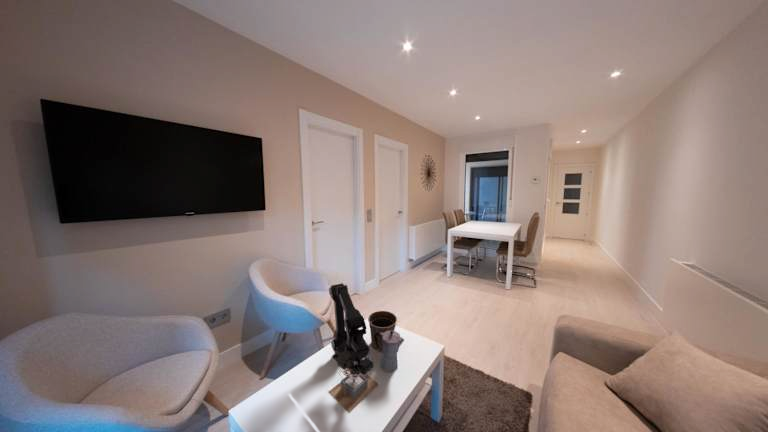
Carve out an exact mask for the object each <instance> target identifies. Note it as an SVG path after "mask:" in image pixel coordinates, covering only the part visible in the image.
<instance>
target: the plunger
mask: <svg viewBox="0 0 768 432" xmlns="http://www.w3.org/2000/svg"><path fill="white" fill-rule="evenodd" d="M355 365H356V364H354V365H353V366H355ZM353 366H351V368H350V370H349V371H350V372H349V373H348V375H349V378H348V379H347V380H346V381H345V383H346V384H347V385H348V386H349V387H351V388H352V389H353V390H354V389H356V388H357V387H358V386H359V385H360V384H361V383H362V382H363V381H364V380H363V379H361V378H360V377H359V375H358V376H357V377H356V374H355V369H354V368H353Z"/></svg>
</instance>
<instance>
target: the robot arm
mask: <svg viewBox="0 0 768 432" xmlns="http://www.w3.org/2000/svg"><path fill="white" fill-rule="evenodd" d="M328 292H329V293H328V294H329V296H330V298H331V300H332V301H333V304H334V305H333V307H334V317H335V318H334V319H335V331H334V333H333V340H331V341H330V345H331V348H332V350H333V352H334V353H333V355H331V357H332V359H334V360H335V361H336V363H337V365H338V366H339V368H341V369H342V370H346V369H348V370H349V371H350V368H351V366H353V365H355V366H353V368H354V369H355V374H356V377H357V376H358V375H359V373H361V374H363V375H365V374H368V373H369V372H370V371H371V370H372V369H373V368H374V363H375V362H374V361H373V360H372V359H370V358H369V357H367V356H368V355H369V353H370V346H369V345H368V343H367V342H366V340H365V338H364V335H366V334H367V325H366V322H365V317H363V315H362V314H361V312H360V310H359V309H357V308H355V307H356V306H355V305H354V303H353V301H352V298H351V295H350V293H349V288H348V285H347V284H344V283H343V282H342V283H338V284H332V285H330V287H329V288H328Z"/></svg>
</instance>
